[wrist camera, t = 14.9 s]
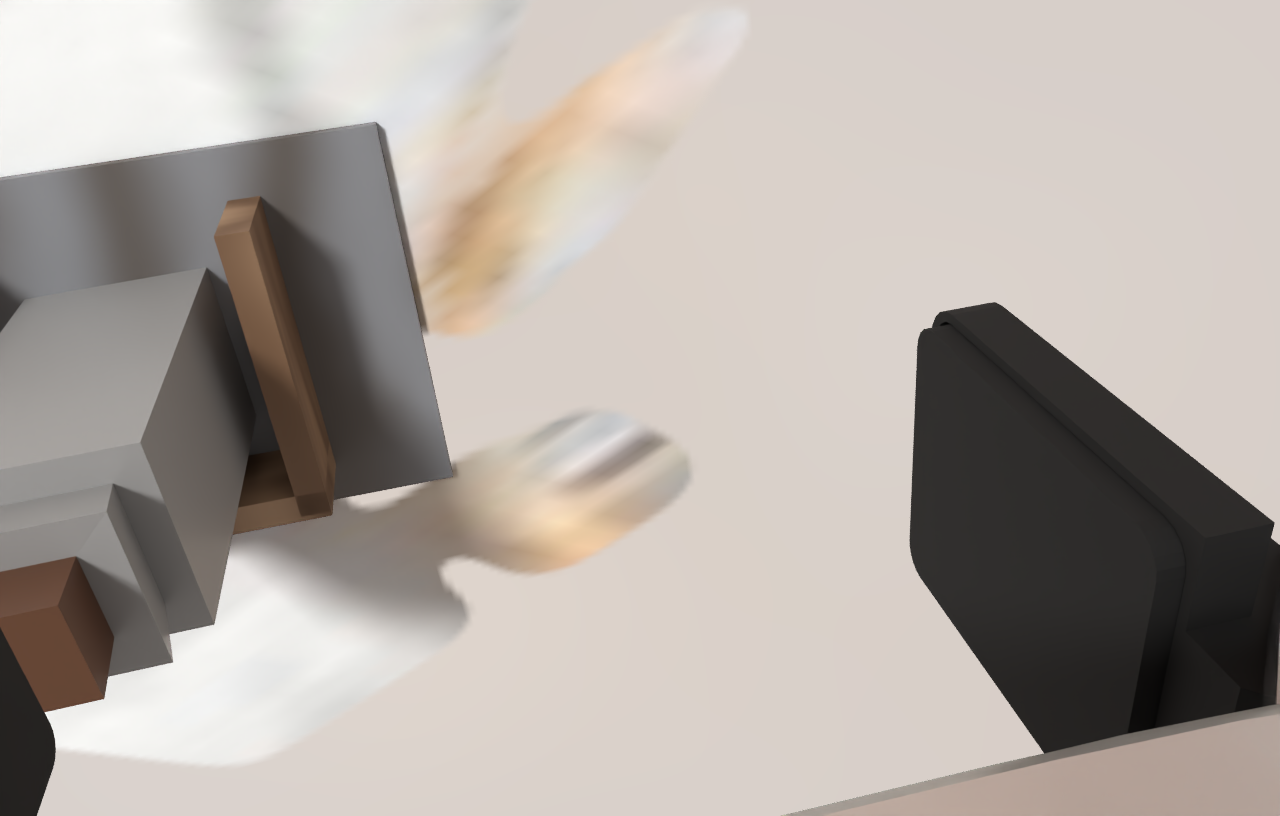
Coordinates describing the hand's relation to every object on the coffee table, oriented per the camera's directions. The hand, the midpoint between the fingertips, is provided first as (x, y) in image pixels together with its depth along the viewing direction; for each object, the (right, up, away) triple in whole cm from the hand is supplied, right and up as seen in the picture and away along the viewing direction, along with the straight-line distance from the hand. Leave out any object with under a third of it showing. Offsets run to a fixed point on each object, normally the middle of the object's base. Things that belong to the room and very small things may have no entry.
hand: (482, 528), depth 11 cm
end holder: (-18, +3, +33) cm, 38 cm away
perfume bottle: (-18, +3, +33) cm, 37 cm away
